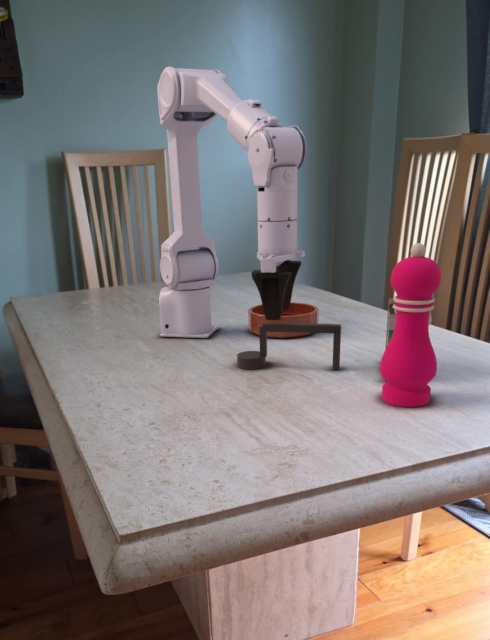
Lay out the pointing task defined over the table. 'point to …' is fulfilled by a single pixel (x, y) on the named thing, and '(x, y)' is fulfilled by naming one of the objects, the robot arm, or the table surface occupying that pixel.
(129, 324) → the table surface
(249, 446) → the table surface
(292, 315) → the bowl
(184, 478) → the table surface
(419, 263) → the pepper mill
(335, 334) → the dark grey bent bar
